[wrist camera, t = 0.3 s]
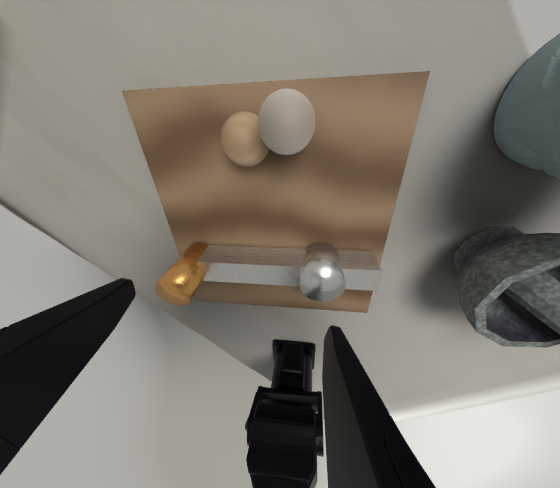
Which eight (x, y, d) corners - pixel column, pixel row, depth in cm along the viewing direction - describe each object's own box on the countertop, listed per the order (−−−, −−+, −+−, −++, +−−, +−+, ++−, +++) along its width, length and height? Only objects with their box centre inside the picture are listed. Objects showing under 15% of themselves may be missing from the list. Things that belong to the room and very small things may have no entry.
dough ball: (275, 160, 18) (267, 171, 15) (233, 161, 18) (218, 172, 15) (272, 109, 16) (263, 110, 13) (226, 111, 17) (207, 113, 14)
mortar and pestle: (412, 263, 23) (488, 384, 13) (500, 189, 18) (730, 292, 8) (489, 306, 25) (607, 442, 15) (588, 249, 20) (866, 395, 10)
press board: (365, 305, 27) (379, 361, 21) (199, 294, 30) (171, 341, 24) (422, 73, 15) (495, 52, 9) (132, 91, 18) (40, 84, 12)
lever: (375, 244, 21) (395, 288, 16) (367, 276, 23) (383, 324, 18) (183, 238, 23) (148, 274, 18) (193, 267, 25) (164, 307, 20)
